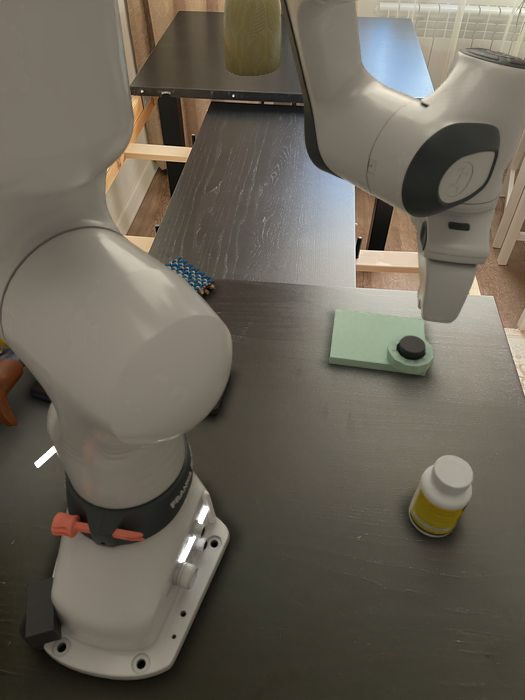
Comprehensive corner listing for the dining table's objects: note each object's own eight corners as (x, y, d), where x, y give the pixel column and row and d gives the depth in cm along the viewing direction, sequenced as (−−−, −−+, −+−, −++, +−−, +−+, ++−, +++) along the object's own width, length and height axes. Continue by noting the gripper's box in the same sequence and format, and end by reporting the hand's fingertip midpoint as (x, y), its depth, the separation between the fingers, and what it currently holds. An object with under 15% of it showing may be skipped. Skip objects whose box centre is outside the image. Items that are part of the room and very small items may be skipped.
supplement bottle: (456, 543, 60) (482, 498, 53) (407, 533, 61) (426, 489, 54) (454, 500, 64) (478, 453, 57) (408, 492, 64) (426, 445, 58)
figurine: (61, 431, 65) (156, 285, 86) (5, 373, 59) (121, 232, 80) (-44, 442, 74) (65, 308, 95) (-101, 393, 69) (28, 262, 89)
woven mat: (131, 289, 92) (129, 279, 90) (180, 263, 97) (178, 254, 96) (168, 317, 86) (167, 308, 85) (217, 289, 92) (217, 279, 90)
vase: (213, 78, 165) (207, -27, 146) (249, 64, 174) (248, -36, 155) (255, 92, 157) (255, -18, 138) (291, 76, 167) (295, -28, 147)
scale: (430, 382, 77) (435, 368, 75) (328, 369, 79) (330, 355, 77) (426, 326, 85) (431, 312, 83) (334, 315, 87) (336, 301, 85)
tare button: (423, 361, 76) (426, 354, 75) (398, 358, 77) (400, 351, 76) (422, 344, 79) (425, 336, 78) (398, 341, 79) (400, 333, 78)
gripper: (420, 165, 68) (398, 256, 78) (427, 254, 54) (400, 352, 63) (470, 170, 68) (442, 261, 77) (492, 261, 53) (454, 359, 63)
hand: (423, 303), depth 70 cm, fingers closed
